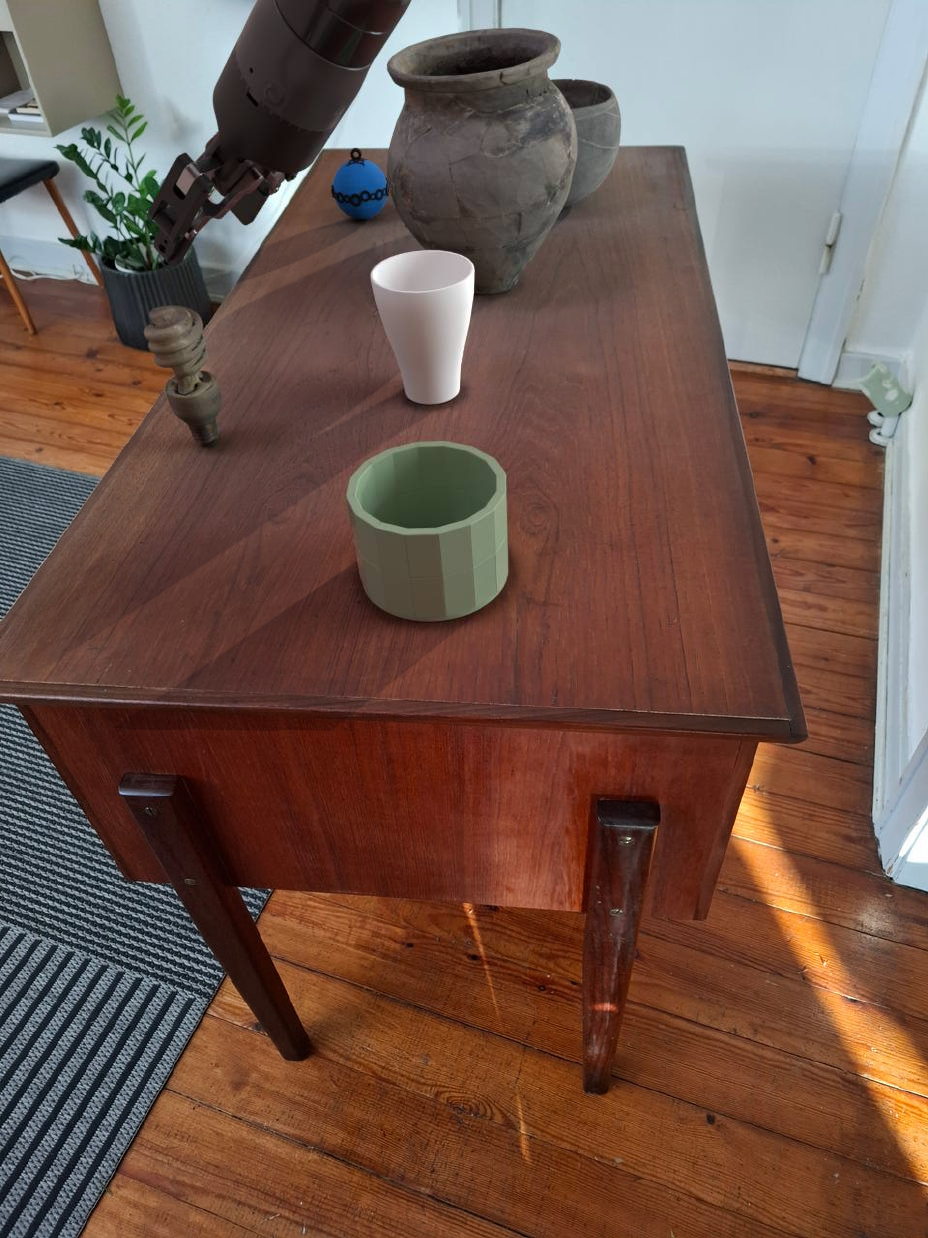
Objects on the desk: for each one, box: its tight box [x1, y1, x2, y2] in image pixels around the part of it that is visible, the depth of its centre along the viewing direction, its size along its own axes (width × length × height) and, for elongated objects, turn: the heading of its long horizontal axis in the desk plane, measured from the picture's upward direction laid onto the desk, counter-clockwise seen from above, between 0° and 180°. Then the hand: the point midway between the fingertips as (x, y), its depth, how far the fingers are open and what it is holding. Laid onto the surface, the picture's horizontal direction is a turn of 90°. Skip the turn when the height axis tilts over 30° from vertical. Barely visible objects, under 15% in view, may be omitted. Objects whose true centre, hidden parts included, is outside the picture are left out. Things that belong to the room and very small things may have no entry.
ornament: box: [330, 147, 390, 221], centre depth 135 cm, size 9×9×10 cm
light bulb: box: [143, 304, 223, 447], centre depth 88 cm, size 6×6×15 cm
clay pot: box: [386, 27, 578, 296], centre depth 107 cm, size 23×25×30 cm
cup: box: [370, 249, 475, 406], centre depth 94 cm, size 10×10×14 cm
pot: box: [345, 440, 509, 623], centre depth 74 cm, size 13×13×9 cm
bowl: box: [550, 78, 622, 209], centre depth 134 cm, size 21×21×15 cm
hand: (203, 234), depth 69 cm, fingers open, 8 cm apart
